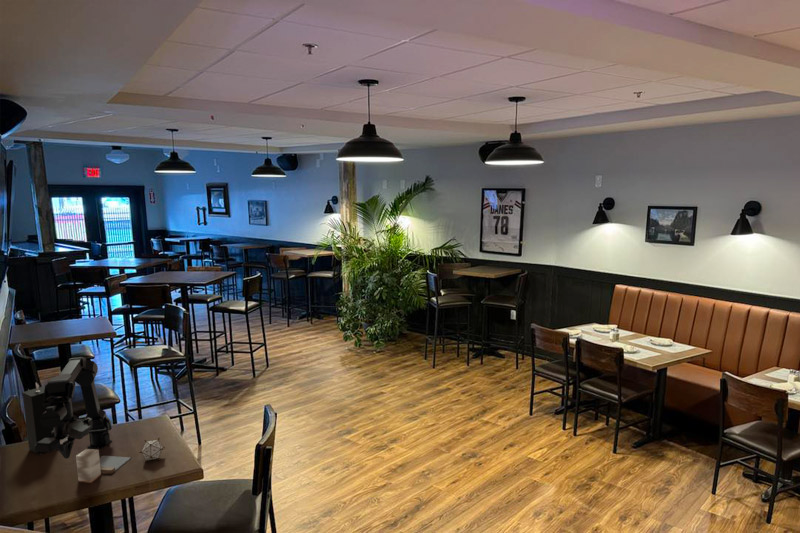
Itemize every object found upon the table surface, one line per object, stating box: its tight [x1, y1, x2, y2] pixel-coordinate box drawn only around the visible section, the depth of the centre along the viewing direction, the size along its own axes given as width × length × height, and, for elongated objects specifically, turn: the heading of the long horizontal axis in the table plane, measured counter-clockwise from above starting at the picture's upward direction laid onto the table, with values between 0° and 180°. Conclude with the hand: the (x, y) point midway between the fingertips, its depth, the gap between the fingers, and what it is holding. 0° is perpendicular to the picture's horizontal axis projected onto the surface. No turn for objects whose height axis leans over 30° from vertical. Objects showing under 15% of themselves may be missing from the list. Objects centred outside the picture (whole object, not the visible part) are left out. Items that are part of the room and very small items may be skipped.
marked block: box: [75, 448, 102, 484], centre depth 182 cm, size 5×5×10 cm
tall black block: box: [21, 382, 55, 456], centre depth 202 cm, size 8×8×28 cm
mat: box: [99, 455, 132, 472], centre depth 193 cm, size 12×9×1 cm
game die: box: [139, 437, 166, 463], centre depth 195 cm, size 9×8×10 cm
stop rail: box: [100, 466, 116, 475], centre depth 187 cm, size 12×2×2 cm, turn 83°
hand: (67, 457), depth 172 cm, fingers closed
